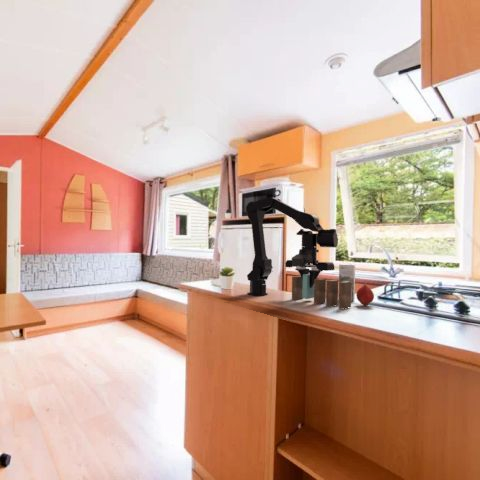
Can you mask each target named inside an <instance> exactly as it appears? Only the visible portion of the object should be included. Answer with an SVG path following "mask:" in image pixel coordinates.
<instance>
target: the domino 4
mask: <svg viewBox="0 0 480 480" xmlns="http://www.w3.org/2000/svg"><path fill="white" fill-rule="evenodd" d="M335 305H336V306H339V279H331V280H330V279H329V280H327V279H326V303H325V306H326V307H330V306H332V307H336V306H335Z"/></svg>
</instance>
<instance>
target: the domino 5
mask: <svg viewBox="0 0 480 480" xmlns="http://www.w3.org/2000/svg"><path fill="white" fill-rule="evenodd" d="M348 307H351V308H352V301H351V282H349V281H344V282H339V281H338V309H340V308H344V309H343V310H346V309H345V308H347V309H349V308H348Z"/></svg>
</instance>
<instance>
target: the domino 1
mask: <svg viewBox="0 0 480 480" xmlns="http://www.w3.org/2000/svg"><path fill="white" fill-rule="evenodd" d="M302 291H303V280H302V277H301V275H296V276H291V300H292V301H300V300H303V299H304V298H302Z"/></svg>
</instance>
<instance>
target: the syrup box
mask: <svg viewBox="0 0 480 480" xmlns="http://www.w3.org/2000/svg"><path fill="white" fill-rule="evenodd" d="M338 265H339V266H338V283H339V282H344V281H349V282H351V302H354V301H355V285H356V284H355V283H356V281H355V280H356V264H355V263H344V262H343V263H341V262H340V263H339V264H338Z"/></svg>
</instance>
